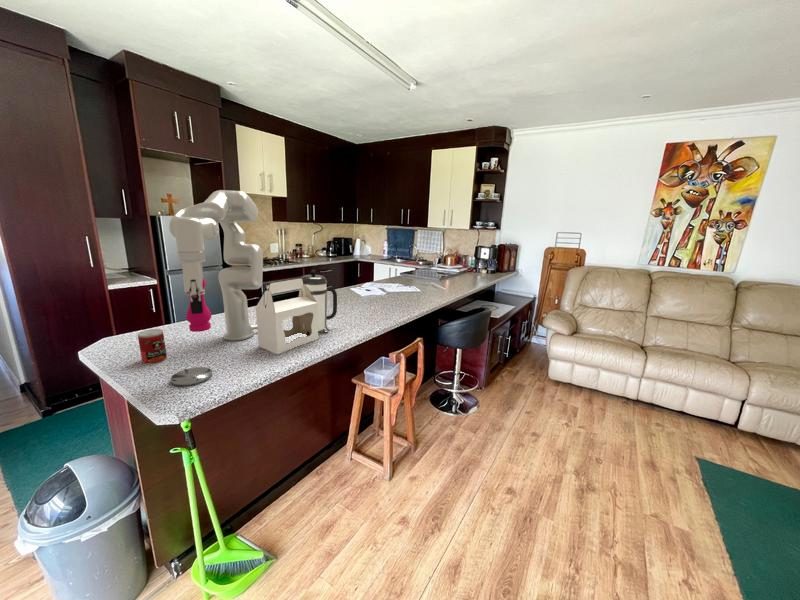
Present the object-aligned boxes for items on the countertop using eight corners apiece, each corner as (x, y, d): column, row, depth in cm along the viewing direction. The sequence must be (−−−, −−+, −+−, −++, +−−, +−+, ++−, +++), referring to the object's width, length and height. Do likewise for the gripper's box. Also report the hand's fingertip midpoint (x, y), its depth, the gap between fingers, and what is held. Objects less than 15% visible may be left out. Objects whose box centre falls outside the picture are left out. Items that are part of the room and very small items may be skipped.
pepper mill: (216, 328, 114) (210, 270, 110) (194, 333, 108) (187, 273, 104) (206, 324, 118) (199, 268, 114) (183, 329, 112) (176, 270, 108)
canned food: (147, 365, 121) (143, 337, 118) (138, 360, 125) (133, 332, 122) (171, 358, 127) (167, 331, 125) (161, 354, 131) (157, 327, 129)
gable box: (300, 333, 159) (297, 275, 153) (319, 339, 152) (317, 279, 146) (257, 346, 142) (252, 282, 135) (277, 354, 134) (272, 286, 128)
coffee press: (324, 337, 153) (324, 273, 147) (291, 334, 156) (290, 270, 149) (337, 327, 170) (337, 268, 164) (307, 324, 172) (307, 266, 166)
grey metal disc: (204, 367, 121) (203, 363, 121) (218, 377, 114) (218, 373, 114) (165, 378, 112) (165, 374, 112) (178, 390, 105) (177, 386, 105)
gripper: (181, 254, 113) (187, 306, 118) (174, 260, 99) (182, 319, 103) (206, 254, 117) (211, 304, 121) (203, 259, 102) (210, 316, 106)
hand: (198, 310), depth 112 cm, fingers closed on pepper mill, 5 cm apart
